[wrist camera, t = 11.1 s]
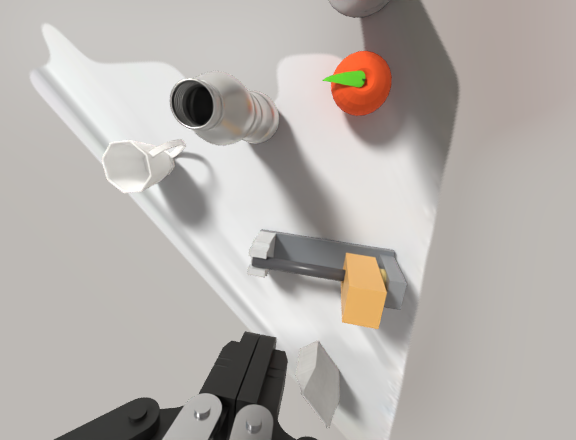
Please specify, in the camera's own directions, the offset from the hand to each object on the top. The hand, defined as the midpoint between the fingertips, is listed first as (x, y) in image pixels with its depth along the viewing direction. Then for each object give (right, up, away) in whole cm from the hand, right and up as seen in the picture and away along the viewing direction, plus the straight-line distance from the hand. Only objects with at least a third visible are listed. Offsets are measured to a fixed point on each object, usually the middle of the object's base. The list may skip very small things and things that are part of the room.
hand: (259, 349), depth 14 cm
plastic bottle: (-3, +20, +27) cm, 34 cm away
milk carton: (+7, -18, +37) cm, 42 cm away
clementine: (+10, +23, +25) cm, 35 cm away
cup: (-17, +16, +31) cm, 39 cm away
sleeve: (+11, -1, +27) cm, 30 cm away
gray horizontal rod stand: (+7, +1, +31) cm, 32 cm away
